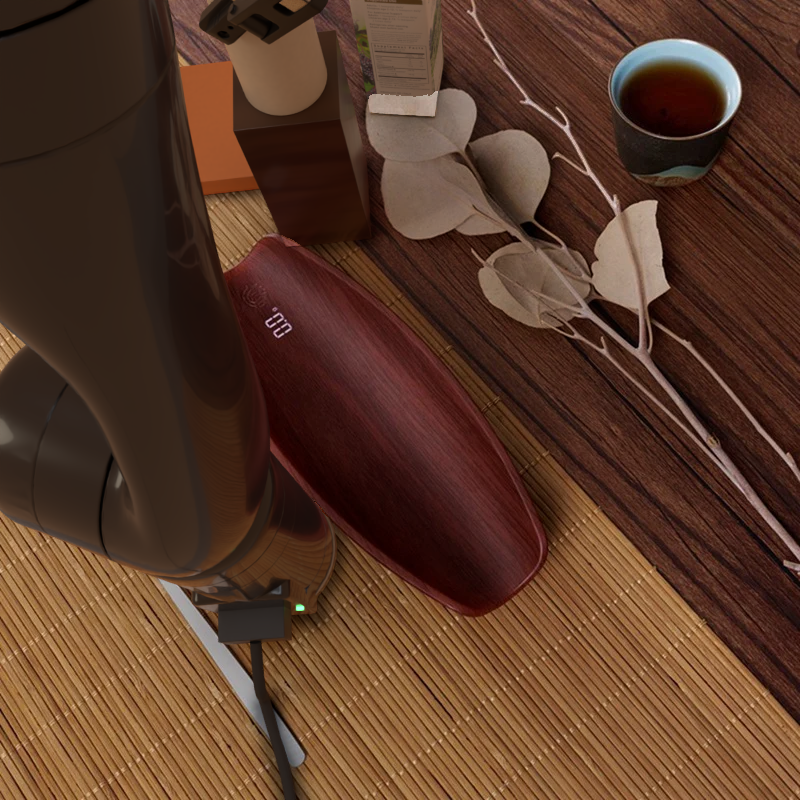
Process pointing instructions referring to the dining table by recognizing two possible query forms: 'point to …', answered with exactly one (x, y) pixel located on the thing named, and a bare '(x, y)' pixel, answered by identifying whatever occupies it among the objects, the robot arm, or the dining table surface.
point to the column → (310, 159)
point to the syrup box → (399, 45)
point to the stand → (215, 128)
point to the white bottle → (280, 69)
